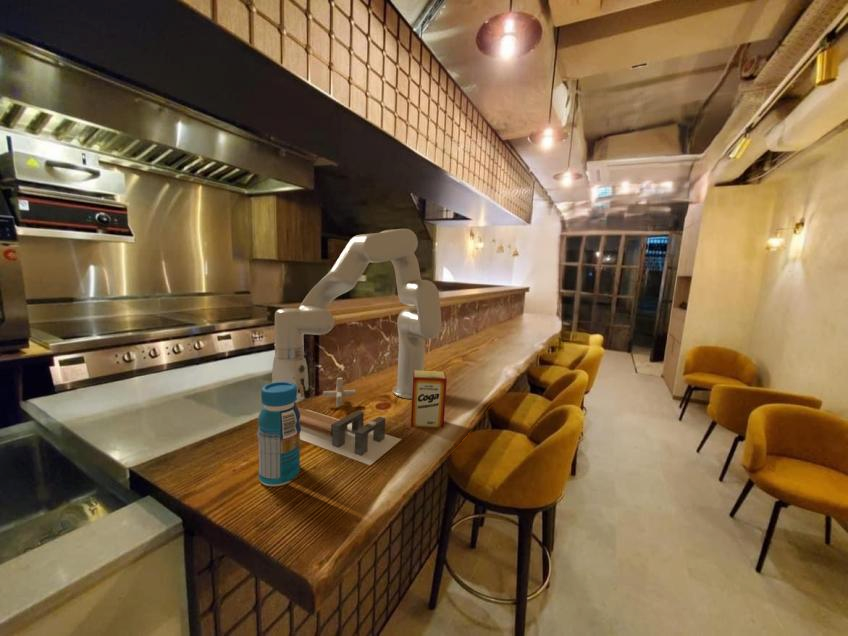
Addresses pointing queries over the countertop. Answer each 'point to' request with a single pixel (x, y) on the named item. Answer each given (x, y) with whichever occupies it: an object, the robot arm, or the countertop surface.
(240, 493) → the countertop surface
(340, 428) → the rear collar
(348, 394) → the pipe connector
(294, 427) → the beverage bottle
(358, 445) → the front collar
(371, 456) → the white rail board
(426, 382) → the baking soda box
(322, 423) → the bar
